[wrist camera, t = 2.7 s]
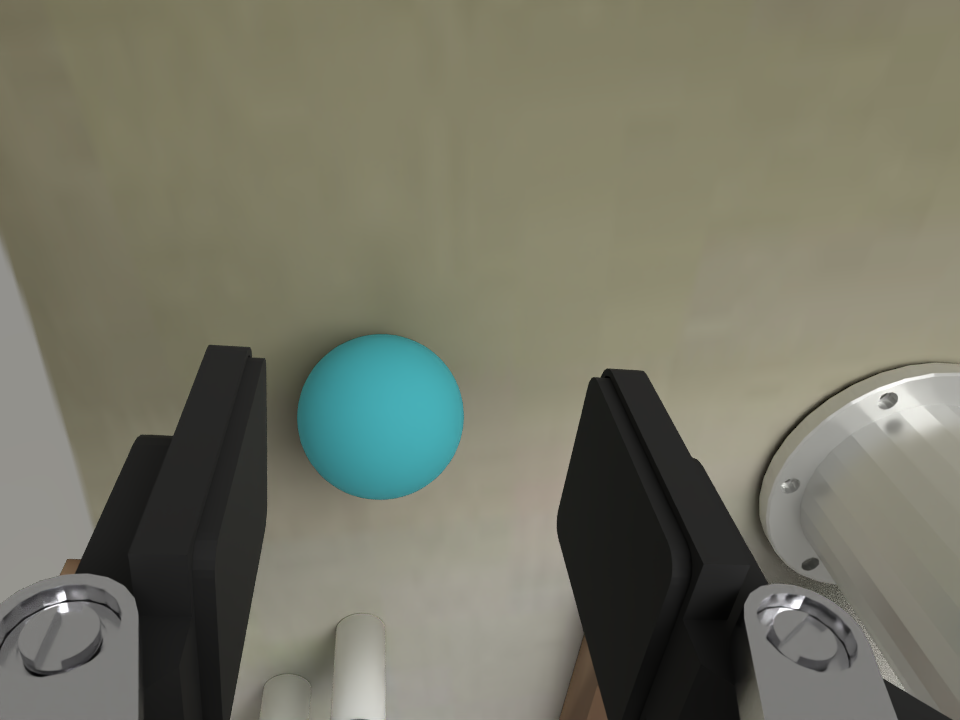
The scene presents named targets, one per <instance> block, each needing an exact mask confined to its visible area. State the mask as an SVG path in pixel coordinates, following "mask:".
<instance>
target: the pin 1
mask: <svg viewBox="0 0 960 720" xmlns="http://www.w3.org/2000/svg"><path fill="white" fill-rule="evenodd" d="M310 698H311V685H310V683H309V682H308V681H307V680H306V679H305V678H303V677H301V676H298V675H293V674H283V675H278V676H275V677H273V678H271V679H270V680H268V681H267V682H266V684H265V685H264V690H263V696H262V703H261V710H260V716H259V720H309V709H310Z"/></svg>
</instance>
